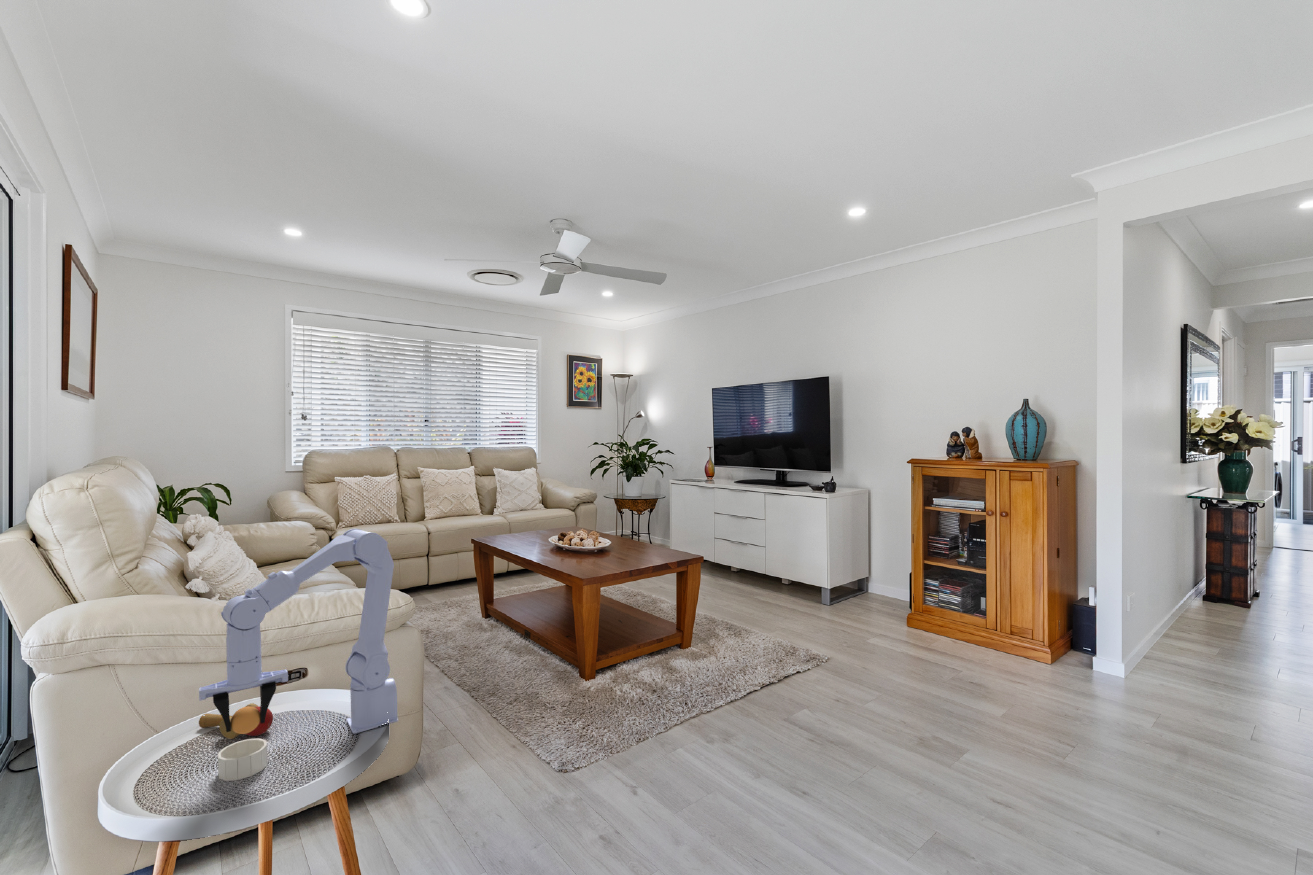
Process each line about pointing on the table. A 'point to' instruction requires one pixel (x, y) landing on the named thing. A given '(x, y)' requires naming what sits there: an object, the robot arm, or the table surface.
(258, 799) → the table surface
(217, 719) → the kendama
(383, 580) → the robot arm
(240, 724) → the ball
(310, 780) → the table surface
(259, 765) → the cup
